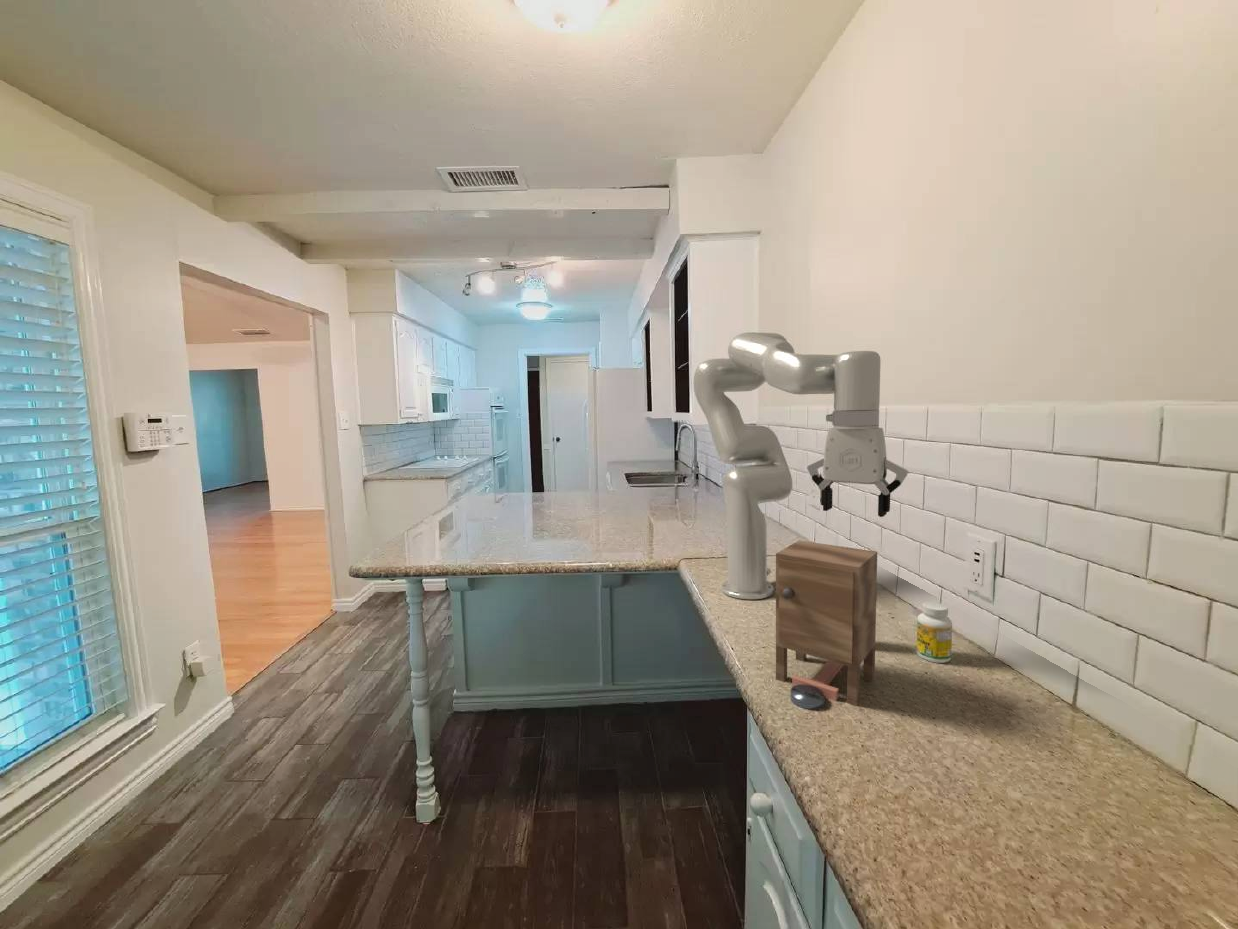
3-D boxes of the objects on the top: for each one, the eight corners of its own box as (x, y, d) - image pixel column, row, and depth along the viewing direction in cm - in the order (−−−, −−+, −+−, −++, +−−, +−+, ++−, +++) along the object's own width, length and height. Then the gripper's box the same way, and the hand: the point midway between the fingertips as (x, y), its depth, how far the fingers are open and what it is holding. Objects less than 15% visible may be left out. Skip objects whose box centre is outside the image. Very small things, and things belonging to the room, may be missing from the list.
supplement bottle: (957, 663, 91) (960, 610, 90) (928, 664, 90) (930, 612, 89) (937, 648, 96) (939, 599, 95) (910, 650, 96) (911, 600, 95)
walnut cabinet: (798, 656, 95) (799, 540, 92) (874, 678, 86) (877, 551, 84) (771, 682, 86) (771, 555, 84) (853, 710, 78) (855, 570, 75)
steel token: (798, 689, 84) (798, 681, 84) (829, 700, 81) (829, 692, 81) (785, 703, 81) (785, 694, 81) (816, 715, 77) (816, 705, 77)
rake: (838, 636, 102) (838, 588, 101) (876, 646, 98) (877, 595, 97) (792, 686, 85) (792, 628, 84) (836, 701, 80) (836, 640, 79)
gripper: (801, 421, 96) (800, 511, 98) (904, 421, 85) (901, 522, 87) (815, 419, 102) (814, 504, 104) (914, 419, 91) (910, 514, 93)
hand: (854, 512), depth 95 cm, fingers open, 9 cm apart
